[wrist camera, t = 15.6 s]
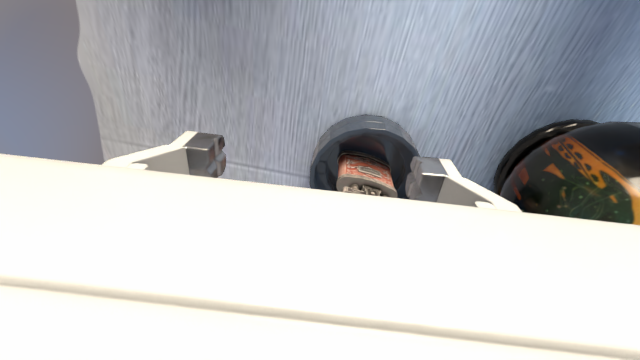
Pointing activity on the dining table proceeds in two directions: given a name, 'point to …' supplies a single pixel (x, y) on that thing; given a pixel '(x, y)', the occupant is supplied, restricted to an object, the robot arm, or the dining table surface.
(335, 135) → the bowl
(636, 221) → the amphora vase
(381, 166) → the lighter
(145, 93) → the dining table surface
